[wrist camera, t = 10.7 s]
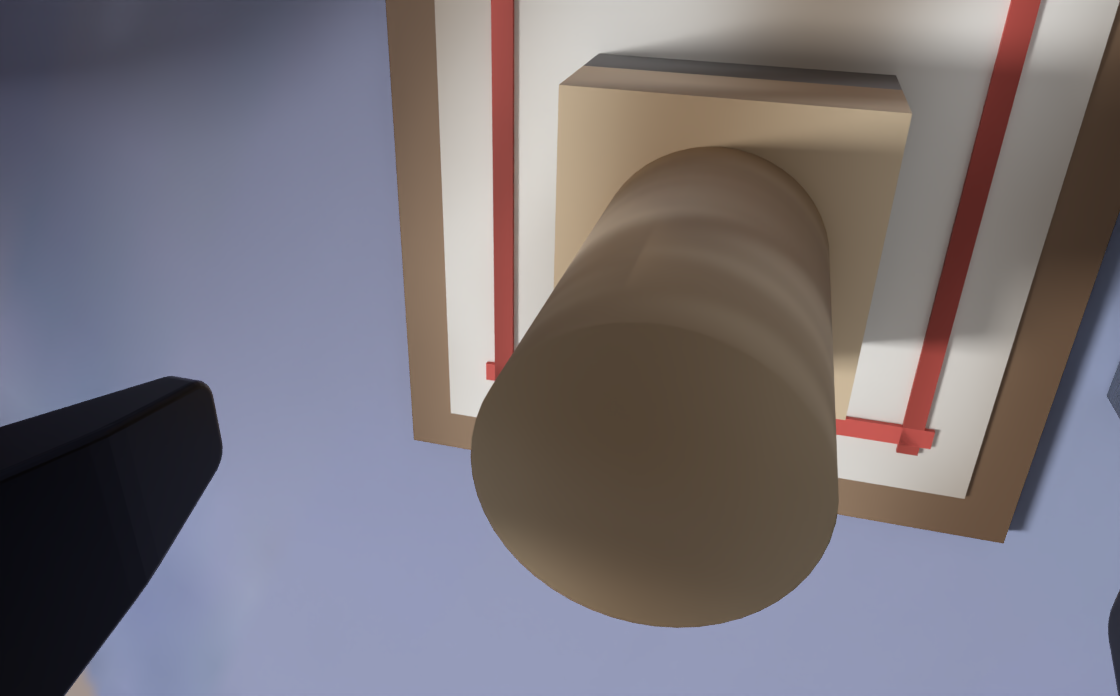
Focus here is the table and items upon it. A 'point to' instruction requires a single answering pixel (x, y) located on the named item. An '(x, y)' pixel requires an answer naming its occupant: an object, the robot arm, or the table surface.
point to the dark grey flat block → (1115, 392)
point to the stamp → (693, 335)
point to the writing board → (911, 239)
